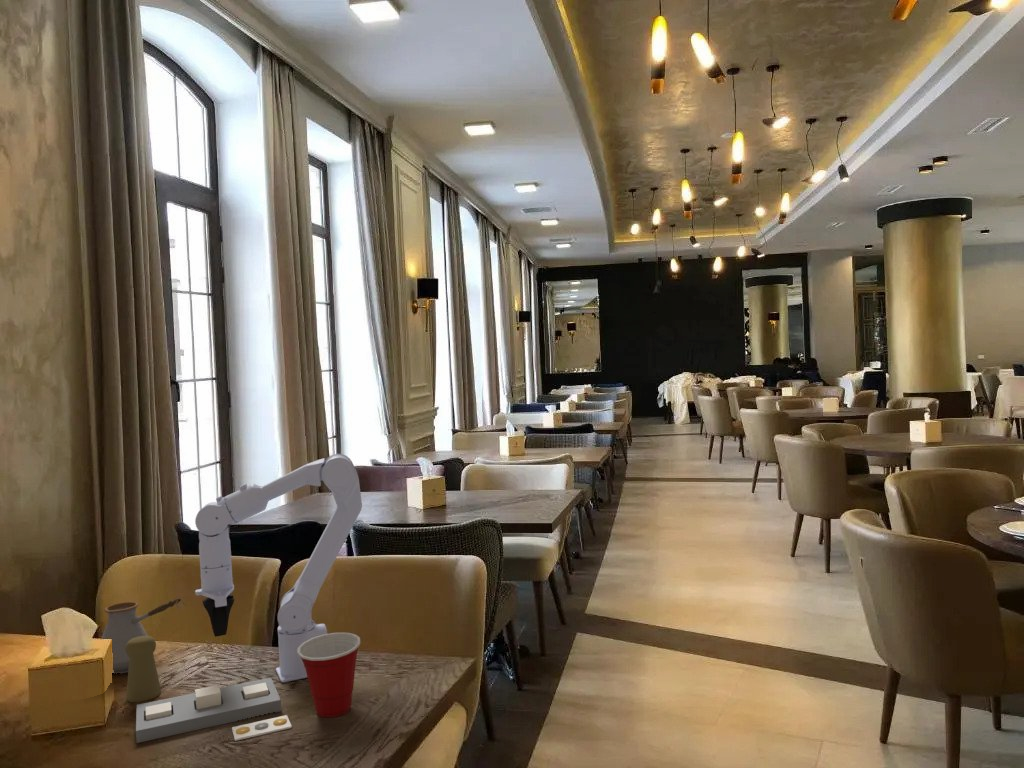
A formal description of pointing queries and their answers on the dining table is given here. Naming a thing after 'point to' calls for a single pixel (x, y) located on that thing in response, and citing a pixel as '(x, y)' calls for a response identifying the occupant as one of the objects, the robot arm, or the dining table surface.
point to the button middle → (208, 697)
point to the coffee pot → (126, 629)
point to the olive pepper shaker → (142, 670)
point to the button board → (205, 711)
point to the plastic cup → (330, 671)
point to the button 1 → (158, 711)
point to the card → (261, 727)
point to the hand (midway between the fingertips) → (220, 634)
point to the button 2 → (255, 691)
